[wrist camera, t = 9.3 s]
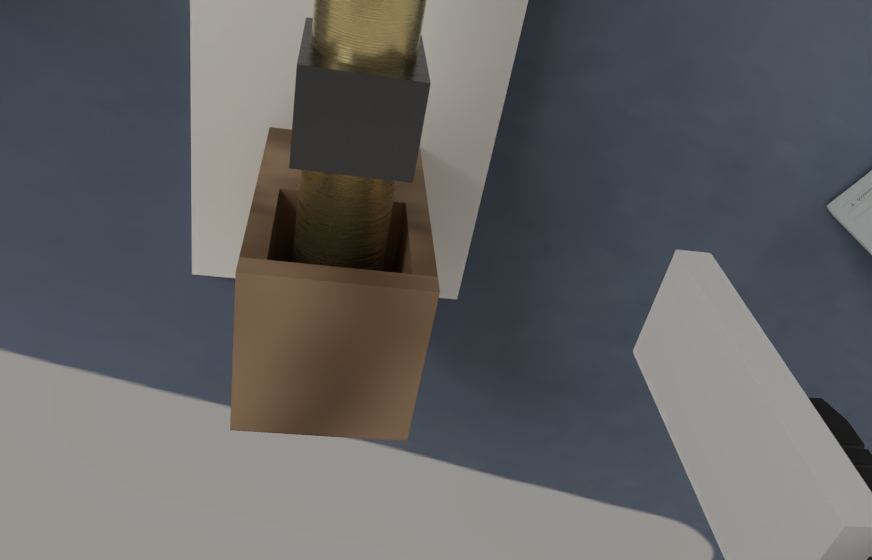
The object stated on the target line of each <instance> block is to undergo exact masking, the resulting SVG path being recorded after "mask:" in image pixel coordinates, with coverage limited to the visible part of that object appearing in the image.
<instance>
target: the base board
mask: <svg viewBox="0 0 872 560" xmlns="http://www.w3.org/2000/svg"><path fill="white" fill-rule="evenodd" d="M527 4H528V0H427V1H426V7H425V13H424V19H423V25H422V31H421V35H422V40H423V46H424V51H425V56H426V61H427V66H428V72H429V77H430V82H431V85H430V90H429V96H428V102H427V107H426V113H425V118H424V124H423V130H422V135H421V141H420V151H421V158H422V165H423V172H424V180H425V187H426V194H427V201H428V209H429V216H430V223H431V231H432V238H433V245H434V252H435V260H436V267H437V274H438V281H439V289H440V294H439V298H447V299H457V298H458V293H459V289H460V285H461V281H462V277H463V273H464V268H465V264H466V260H467V256H468V252H469V247H470V243H471V239H472V235H473V231H474V226H475V222H476V218H477V214H478V210H479V205H480V201H481V197H482V193H483V189H484V185H485V180H486V176H487V172H488V168H489V164H490V159H491V155H492V151H493V147H494V143H495V138H496V134H497V130H498V126H499V122H500V117H501V113H502V109H503V105H504V101H505V96H506V92H507V88H508V84H509V80H510V76H511V71H512V67H513V63H514V59H515V55H516V50H517V46H518V42H519V38H520V34H521V29H522V25H523V21H524V17H525V13H526V8H527ZM313 10H314V0H190V56H191V207H192V274H195V275H205V276H216V277H226V278H235V273H236V268H237V264H238V260H239V256H240V251H241V247H242V243H243V238H244V234H245V230H246V226H247V221H248V217H249V213H250V209H251V204H252V200H253V196H254V192H255V187H256V183H257V179H258V175H259V170H260V166H261V162H262V158H263V153H264V149H265V145H266V141H267V136H268V132H269V128H270V127H274V128H282V129H290V130H292V123H293V110H294V96H295V83H296V69H297V61H298V56H299V51H300V46H301V41H302V36H303V31H304V26H305V21H306V17H308V18H313Z"/></svg>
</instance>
